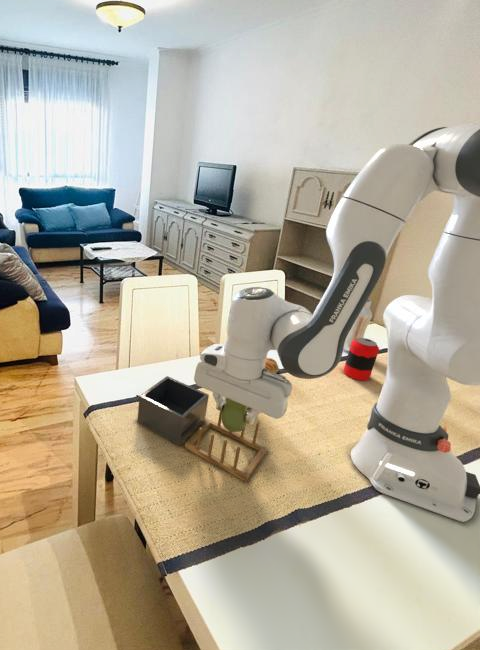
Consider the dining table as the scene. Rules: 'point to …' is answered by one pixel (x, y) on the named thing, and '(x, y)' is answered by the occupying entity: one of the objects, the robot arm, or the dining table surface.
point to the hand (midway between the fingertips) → (234, 415)
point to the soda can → (361, 359)
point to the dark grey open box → (172, 409)
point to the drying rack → (221, 462)
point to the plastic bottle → (359, 325)
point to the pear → (234, 416)
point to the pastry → (271, 365)
